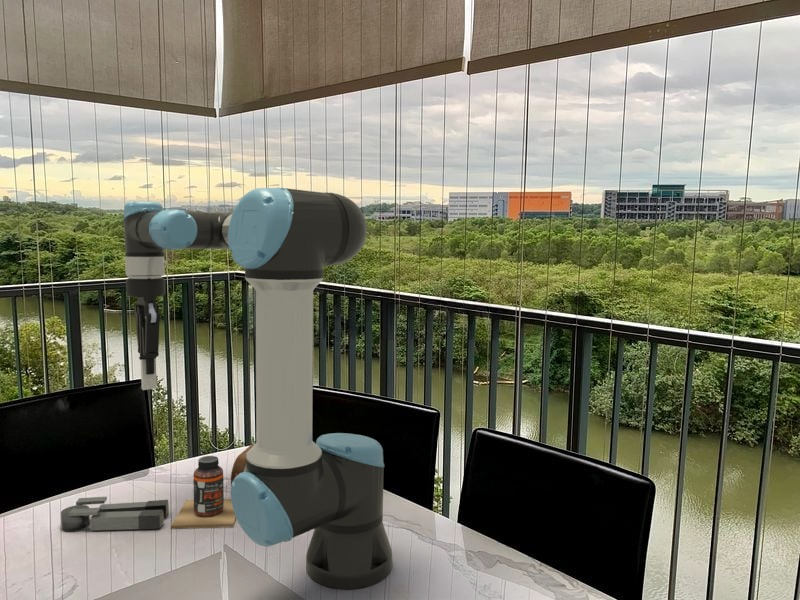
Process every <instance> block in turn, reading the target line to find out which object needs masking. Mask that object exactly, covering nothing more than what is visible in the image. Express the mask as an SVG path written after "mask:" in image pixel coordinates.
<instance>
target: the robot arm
mask: <svg viewBox="0 0 800 600" xmlns="http://www.w3.org/2000/svg"><path fill="white" fill-rule="evenodd" d="M162 205H163V204H161V203H159V202H155V201H129V202H126V203H125V204H124V207H123V218H122V221H123V231H124V232H123V234H124V252H125V254H124V255H125V256H124V265H125V269H124V270H125V275H126V276H127V277H128V278H126V280H125V288H126V290H125V291H126V292H125V293H126V296H127V297H130V298H137V300H136V301H137V303H136V304H135V305H134V309H133V312H134V318H135V326H136V327H135V328H136V338H137V342H136V343H137V353H138V354H139V356H138V358H139V359H138V360H139V361H140V375H141V376H140V378H141V379H140V381H141V390H142V391H146V390H147V391H148V390H156V389H157V388H158V385H157V384H158V383H157V378H158V377H157V357H159V347H160V346H159V343H160V321H161V316H162V315H161V313H160V309H159V304H157V300H156V297H163V296H165V295H166V279H165V278H164V277H162V276H164V275H165V269H166V268H165V266H167V265H168V261H166V260H165V250H169V251H173V250H176V251H178V250H229V251H230V252H231V258H232V260H233V262H235V264H237V265H238V266H240V267H241V268H243V269H244V273H245V274H244V279H245V280H246V282H248V284H249V285H251V287H252V288H253V289H254V290H255V387H256V388H255V392H256V393H255V394H256V396H255V397H256V399H255V406H256V408H255V413H256V417H255V418H256V420H255V421H256V422H255V424H256V427H255V429H256V432H255V433H256V434H255V435H256V439H255V440H256V442H255V443H254V444H253V445H254V446H253V447H252V448H251V449H250V450H249V451H248V452H247V455H246V472H242V473H240V474H239V475H238V476H236V477H235V479H234V481H233V482H232V485H231V484H230V499H231V502H232V506H233V510H234V513H235V516H236V520H237V522H238V525H240V527H241V529H242V530H243V532H244V534H246V536H247V537H248V538H249V539H250V540H251V541H253V543H255V544H257V545H259V546H262V547H273V546H276V545H279V544H281V543H285V542H290V541H291V540H292V539H293V538H296V537H298V536H301V535H303V534H305V533H307V532H309V531H312V530H313V533H312V536H311V539H310V542H309V545H308V548H307V551H306V555H305V568H306V573H307V575H308V577H310V578H311V579H312V580H313V581H314V582H316V583H318V584H320V585H323V586H324V587H328V588H333V589H340V590H350V589H351V590H353V589H360V588H365V587H368V586H372V585H374V584H377V583H379V582H380V581H382V580H383V579H385V578H386V577H388V575H389V574H390V572H391V571H392V568H393V550H392V548H391V544H390V541H389V538H388V534H387V532H386V528H385V526H384V522H383V521H384V520H383V518H384V515H383V512H384V476H385V475H384V472H385V470H384V468H385V463H384V449H383V447H382V445H381V444H380V442H378V440H376V439H374V438H372V437H369V436H365V435H361V434H354V433H349V432H348V433H346V432H345V433H344V432H335V433H333V432H332V433H326V434H322V435H320V436H319V437H317V439H316V440H315V441H316V442H315V441H313V391H314V390H313V388H314V387H313V381H314V380H313V378H314V377H313V376H314V375H313V369H314V368H313V365H314V364H313V362H314V358H313V357H314V354H313V353H314V349H313V346H314V343H313V341H314V339H313V338H314V333H313V332H314V325H313V324H314V291H315V288H316V287H317V286H319V284H320V283H322V281H323V280H324V266H325V267H327V266H335V265H340V264H344V263H346V262H348V261H350V260H352V259H353V258H355V257H356V255H358V254H359V252H360V251H361V250H362V248H363V247H364V244H365V241H366V238H367V233H368V231H367V230H368V227H367V226H368V225H367V221H366V218H365V216H364V213H363V211H362V210H361V208H360V206H358V204H356V202H355V201H353V200H352V199H350V198H349V197H346V196H345V195H342V194H339V193H334V192H323V191H322V192H320V191H312V190H303V189H296V188H285V187H277V186H276V187H260V188H255V189H252V190H249V191H248V192H246V193H245V194H244V195H243V196H242V197H241V198H240V199H239V201H238V203H237V204H236V205H235V207H234V209H233V211H232V212H205V211H202V212H201V211H188V210H187V211H186V210H180V209H171V208H169V209H164V208H163V206H162Z"/></svg>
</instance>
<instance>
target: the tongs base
mask: <svg viewBox="0 0 800 600" xmlns="http://www.w3.org/2000/svg"><path fill="white" fill-rule="evenodd" d="M100 511H101V508H99V507H89V505H76V504H75V505H72V506H68V507H66V508H64V509H62V510H61V511H60V524H61V525H60V526H61V531H63V532H65V533H73V532H74V533H76V532H78V531H82V530H85V529H86V528H88V527H89V526H90V531H115V530H116V531H119V530H120V531H121V530H124V531H125V530H155V529H156V530H157V529H158V530H159V529H160V528H162V526H163V524H164V521H165V520H164V519H165V518H164V517H163V510H142V511H122V512H100Z"/></svg>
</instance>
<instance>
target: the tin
mask: <svg viewBox="0 0 800 600" xmlns="http://www.w3.org/2000/svg"><path fill="white" fill-rule="evenodd" d="M254 445H255V444H250V445H249V446H248V447H247V448H246V449H245V450H243V451H242V452H241V453H240V454H238V456H237V457H236V458H235V460H234V462H233V465H232V469H231V473H230V486H231V485H232V482H233V481H234V479H235V477H236V476H238V475H239V474H240V473H242V472H246V455H247V452H248V451H249V450H250V449H251V448H252V447H253V446H254Z"/></svg>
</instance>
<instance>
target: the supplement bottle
mask: <svg viewBox="0 0 800 600" xmlns="http://www.w3.org/2000/svg"><path fill="white" fill-rule="evenodd" d="M197 462H198V465H197V466H198V467H197V468H195V470H194V472H193V500H194V513H195V514H196V515H199V516H202V517H208V516H214V515H216V514H219V513H220V512H221V511H222V510H223V504H224V499H225V498H224V469H223V467H221V465H219V463H220V461H219V457H218V456H215V455H206V456H205V455H204V456H203V457H202V456H201V457H199V458H198V461H197Z"/></svg>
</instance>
